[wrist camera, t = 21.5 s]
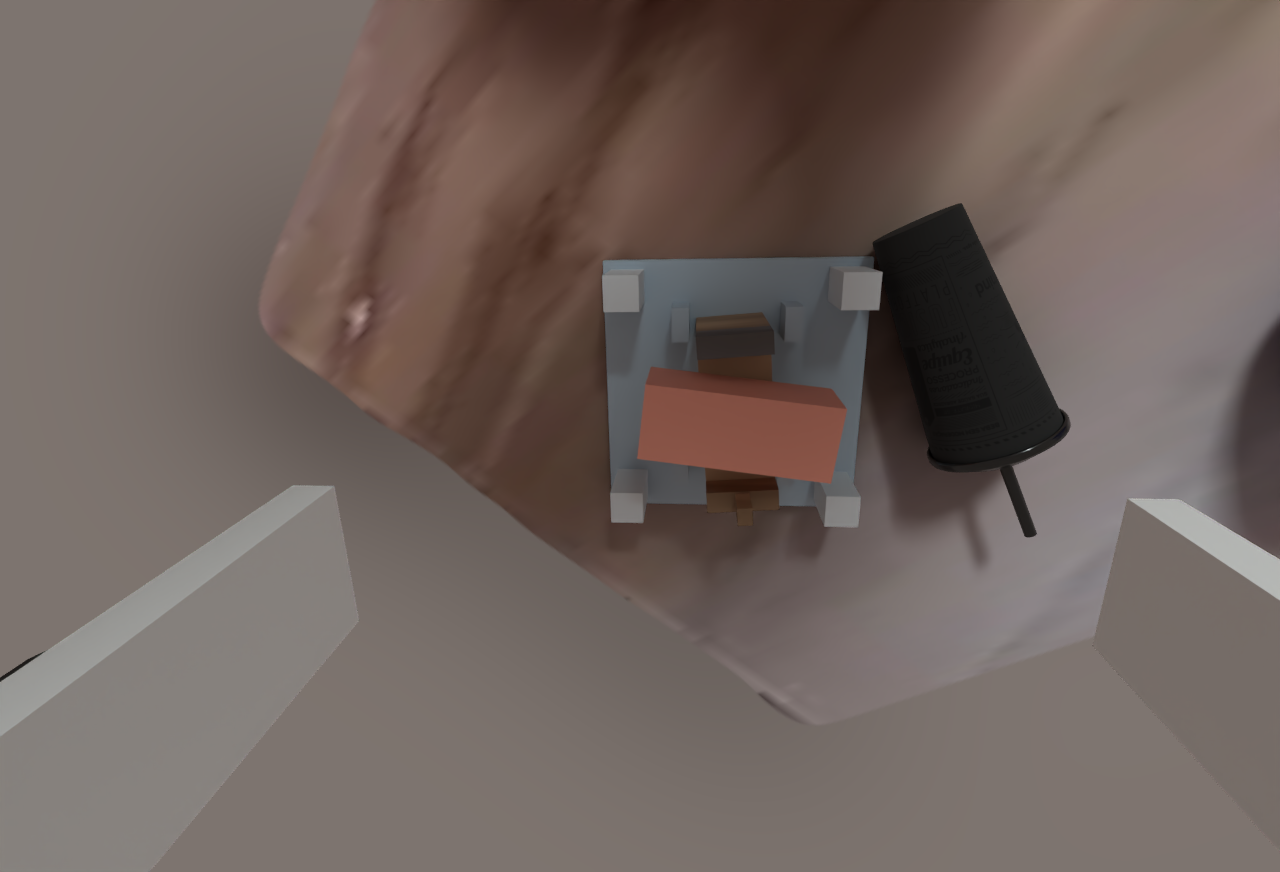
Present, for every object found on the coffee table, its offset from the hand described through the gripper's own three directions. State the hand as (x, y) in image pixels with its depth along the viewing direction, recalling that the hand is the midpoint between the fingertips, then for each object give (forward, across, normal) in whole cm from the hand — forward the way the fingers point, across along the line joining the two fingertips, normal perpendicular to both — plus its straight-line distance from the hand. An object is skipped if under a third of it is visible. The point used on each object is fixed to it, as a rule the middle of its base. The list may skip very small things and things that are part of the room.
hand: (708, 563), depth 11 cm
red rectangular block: (+26, +2, -5) cm, 26 cm away
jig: (+32, +2, -5) cm, 32 cm away
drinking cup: (+29, +12, +5) cm, 32 cm away
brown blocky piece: (+31, +2, -5) cm, 31 cm away
